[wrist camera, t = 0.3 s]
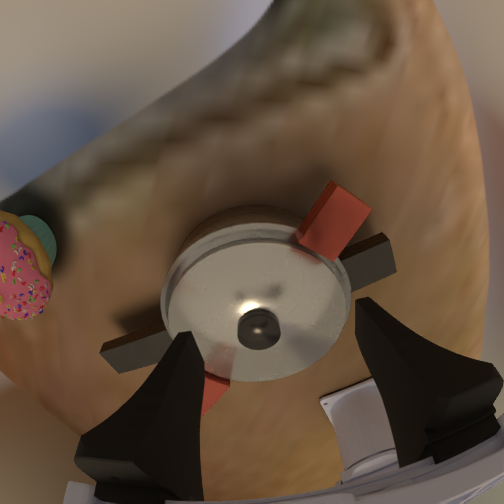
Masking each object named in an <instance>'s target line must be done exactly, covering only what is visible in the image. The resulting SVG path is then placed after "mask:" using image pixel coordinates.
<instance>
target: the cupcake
mask: <svg viewBox="0 0 504 504" xmlns="http://www.w3.org/2000/svg"><path fill="white" fill-rule="evenodd" d="M56 252H57V246H56V241H55V237H54V235H53V233H52V231H51V229H50V228H49V226H48V225H47V224H46V223H45V222H44V221H43V220H41V219H40V218H38V217H36V216H32V215H25V216H20V217H18V216H16V215H14V214H12V213H8V212H4V211H1V210H0V315H1V317H2V318H4V317H6V318H10V319H13V320H14V321H15V320H23V319H24V320H27V319H33V317H34V316H36V315H37V314H39V313H42V312H43V309H44V308H45V307H46V305H47V304H48V301H49V299H50V296H51V293H52V290H53V282H52V272H51V268H52V265H53V262H54V260H55V257H56ZM41 311H42V312H41ZM3 316H4V317H3Z"/></svg>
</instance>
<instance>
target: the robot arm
mask: <svg viewBox="0 0 504 504" xmlns="http://www.w3.org/2000/svg"><path fill="white" fill-rule="evenodd" d="M355 335H356V338H357V341H358V345H359V348H360V351H361V353H362V356H363V358H364V360H365V362H366V364H367V366H368V369H369V371H370V373H371V375H372V377H373V378H371V379H369V380H366V381H364V382H362V383H359V384H357V385H354V386H352V387H349V388H346V389H344V390H341V391H338V392H336V393H333V394H330V395H328V396H325V397H322V398H321V399H320V404H321V405H322V407H323V409H324V411H325V412H326V414H327V416H328V418H329V419H330V421H331V423H332V425H333V426H334V430H335V434H336V438H337V442H338V446H339V450H340V454H341V459H342V463H343V467H344V471H343V472H341V473H340V474H341V478H342V480H340V481H338V482H337V483H336V485H335V487H332V488H327V489H322V490H317V491H312V492H306V493H300V494H294V495H287V496H280V497H272V498H262V499H251V500H237V501H204V495H203V487H202V477H201V463H200V420H201V411H202V403H203V394H204V386H205V362H204V359H203V357H202V355H201V353H200V350H199V348H198V346H197V343H196V341H195V339H194V336H193V334H192V331H185V332H178V334H177V335H176V337H175V338H174V340H173V341H172V343H171V344H170V346H169V347H168V349H167V351H166V352H165V354H164V355H163V357H162V358H161V360H160V361H159V363H158V364H157V366H156V367H155V369H154V370H153V371H152V373H151V374H150V375H149V377H148V378H147V379H146V381H145V382H144V383H143V385H142V386H141V387H140V388H139V389H138V390H137V391H136V392H135V394H134V395H133V396H132V397H131V398H130V399H129V400H128V401H127V402H126V403H125V404H123V405H122V406H121V407H120V408H119V409H118V410H117V411H116V412H115V413H113V414H112V415H111V416H110V417H109V418H107V419H106V420H105V421H103V422H102V423H100V424H99V425H98V426H96V427H94V428H93V429H91V430H90V431H88V432H87V433H85V434H83V435H81V438H80V441H79V444H78V447H77V451H76V454H75V457H74V462H75V464H76V465H77V467H78V468H79V469H81V470H82V471H83V472H84V473H86V474H87V475H88V476H90V477H91V478H92V479H94V480H95V481H97V484H96V487H93V486H91V485H87V484H83V483H78V482H74V481H69V482H68V486H67V490H66V494H65V498H64V502H63V504H466V503H468V502H469V501H471V500H473V499H475V498H476V497H478V496H480V495H481V494H483V493H485V492H486V491H488V490H490V489H491V488H493V487H494V486H496V485H497V484H499V483H501V482H502V481H504V414H502V415H501V416H500V417H499V418H498V419H496V417H495V415H494V413H495V412H496V409H495V407H494V406H493V403H494V401H495V400H496V398H497V397H498V395H499V393H500V391H501V389H502V387H503V381H504V380H503V379H502V377H501V375H500V374H499V372H498V371H497V369H496V368H495V367H494V366H493V364H492V363H488V362H484V361H479V360H475V359H472V358H468V357H465V356H462V355H459V354H457V353H454V352H452V351H449V350H447V349H445V348H442V347H440V346H438V345H436V344H434V343H432V342H430V341H429V340H427V339H425V338H423V337H421V336H420V335H418V334H416V333H415V332H413V331H412V330H410V329H409V328H408V327H406V326H405V325H403V324H402V323H401V322H399V321H398V320H397V319H395V318H394V317H393V316H392V315H390V314H389V313H388V312H387V311H385V310H384V309H383V308H382V307H380V306H379V305H378V304H377V303H376V302H374V301H373V300H372V299H371V298H369V297H365V298H361V299H357V300H355Z"/></svg>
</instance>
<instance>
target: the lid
mask: <svg viewBox="0 0 504 504" xmlns="http://www.w3.org/2000/svg"><path fill="white" fill-rule="evenodd" d="M371 210H372V209H371V208H370V207H369V206H368V205H367V204H365V203H364V202H363V201H362V200H360V199H359V198H357V197H356V196H354V195H353V194H352V193H350V192H349V191H347V190H346V189H344V188H343V187H341V186H340V185H338V184H337V183H335V182H334V181H332V180H331V181H330V182H329V184H328V185H327V187H326V188H325V190H324V191H323V193H322V194H321V196H320V197H319V199H318V200H317V202H316V203H315V205H314V206H313V207H312V209H311V210H310V212H309V213H308V215H307V216H306V218H305V219H304V221H303V222H302V223H301V225H300V226H299V228H298V229H297V231H296V232H295V235H296V238H297V240H298V243H300V244H302V245H304V246H306V247H307V248H309V249H311V250H313V251H315V252H316V253H318V254H320V255H322V256H324V257H325V258H327V259H329V260H331V261H332V262H334V261H335V259H336V258H337V257H338V256H339V254H340V253H341V252H342V250H343V249H344V248H345V246H346V245H347V243H348V242H349V241H350V239H351V238H352V237H353V235H354V234H355V233H356V231H357V230H358V229H359V227H360V226H361V224H362V223H363V222H364V220H365V219H366V217H367V216H368V215H369V213H370V212H371ZM307 248H305V247H303V246H300V245H298V244H296V243H292V242H289V241H286V240H280V239H275V238H260V237H259V238H246V239H240V240H235V241H231V242H228V243H225V244H222V245H219V246H217V247H215V248H213V249H211V250H209V251H207V252H206V253H204V254H202V255H201V256H199V257H198V258H197V259H196V260H194V261H193V262H192V263H191V264H190V265H189V266H188V267H187V268H186V269H185V271H184V272H183V273H182V274H181V276H180V278H179V279H178V281H177V283H176V285H175V287H174V290H173V293H172V296H171V300H170V304H169V311H168V320H169V327H170V331H171V334H172V336H173V338H175V337H176V335H177V334H178V332H185V331H192V334H193V336H194V339H195V341H196V343H197V346H198V348H199V350H200V353H201V355H202V357H203V359H204V362H205V386H204V394H203V403H202V411H201V417H202V416H203V415H204V414H205V413H206V412H207V411H208V410H209V409H210V408H211V407H212V406H213V405H214V404H215V402H216V401H217V400H218V399H219V398H220V397H221V396H222V395H223V394H224V393H225V392H226V391H227V389H228V388H229V387H230V379H232V380H237V381H249V382H258V381H269V380H275V379H279V378H283V377H287V376H289V375H292V374H295V373H297V372H299V371H302V370H304V369H305V368H307V367H309V366H311V365H312V364H314V363H315V362H316V361H318V360H319V359H320V358H321V357H323V356H324V355H325V354H326V353H327V352H328V351H329V349H330V348H331V347H332V346H333V345H334V343H335V342H336V340H337V339H338V337H339V335H340V333H341V331H342V328H343V325H344V322H345V316H346V302H345V296H344V293H343V290H342V287H341V285H340V283H339V281H338V279H337V277H336V275H335V274H334V272H333V270H332V269H331V268H330V267H329V266H328V264H327V263H326V262H325V261H324V260H323V259H321V258H320V257H319V256H318V255H317V254H315V253H314V252H312V251H310V250H309V249H307Z"/></svg>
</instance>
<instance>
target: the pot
mask: <svg viewBox="0 0 504 504" xmlns="http://www.w3.org/2000/svg"><path fill="white" fill-rule="evenodd" d="M303 221H304V219H302V218H301V217H299V216H297V215H296V214H293V213H291V212H289V211H286V210H283V209H280V208H276V207H271V206H264V205H248V206H239V207H235V208H231V209H228V210H225V211H222V212H220V213H217V214H215V215H214V216H212V217H210V218H208V219H207V220H205V221H204V222H202V223H201V224H200V225H199V226H197V227H196V228H195V229H194V230H193V231H192V232H191V234H190V235H189V236H188V237H187V239H186V240H185V242H184V243H183V245H182V247H181V249H180V251H179V254H178V257H177V258H176V259H175V261H174V262H173V263H172V265H171V267H170V269H169V271H168V273H167V275H166V278H165V281H164V284H163V287H162V292H161V313H162V318H163V322H160V323H157V324H155V325H152V326H149V327H147V328H144V329H141V330H138V331H136V332H133V333H130V334H127V335H125V336H122V337H119V338H116V339H114V340H111V341H108V342H105V343H103V346H102V348H101V350H100V354H101V356H102V357H103V358H104V359H105V360H106V361H107V362H108V363H109V364H110V365H111V366H112V367H113V368H114V369H115V370H116V371H117V372H118V373H119V374H120V373H124V372H128V371H131V370H135V369H138V368H142V367H145V366H149V365H152V364H155V363H159V361H160V360H161V358H162V357H163V355H164V354H165V352H166V351H167V349H168V347H169V346H170V344H171V343H172V341H173V340H174V338H173V336H172V334H171V331H170V327H169V320H168V311H169V304H170V300H171V296H172V293H173V290H174V287H175V285H176V283H177V281H178V279H179V278H180V276H181V274H182V273H183V272H184V271H185V269H186V268H187V267H188V266H189V265H190V264H191V263H192V262H193V261H194V260H196V259H197V258H198V257H199V256H201V255H202V254H204V253H206V252H207V251H209V250H211V249H213V248H215V247H217V246H219V245H222V244H225V243H228V242H231V241H235V240H240V239H246V238H259V237H260V238H275V239H280V240H286V241H289V242H292V243H296V244H298V245H300V246H303V247H305V248H307V247H306V246H304V245H302V244H300V243H298V240H297V238H296V235H295V232H296V231H297V229H298V228H299V226H300V225H301V223H302V222H303ZM307 249H309V248H307ZM309 250H310V251H312V252H314V253H315V254H317V255H318V256H319V257H320V258H321V259H323V260H324V261H325V262H326V263H327V264H328V266H329V267H330V268H331V269H332V270H333V272H334V274H335V275H336V277H337V279H338V281H339V283H340V285H341V287H342V290H343V293H344V296H345V302H346V316H345V322H344V325H345V323H346V320H347V318H348V315H349V311H350V307H351V292H353V291H355V290H358V289H360V288H362V287H365V286H367V285H369V284H371V283H374V282H376V281H378V280H380V279H382V278H385V277H387V276H389V275H391V274H393V273H396V272H397V271H396V267H395V262H394V257H393V252H392V248H391V243H390V240H389V239H388V238H387V236H386V235H385V234H384V233H383V232H381V233H379V234H377V235H374V236H372V237H370V238H367V239H365V240H363V241H361V242H358V243H356V244H354V245H351V246H349V247H347V248H344V249H343V250H342V252H341V253H340V254H339V256H338V257H337V258H336V259H335V261H334V262H332V261H331V260H329V259H327V258H325V257H324V256H322V255H320V254H318V253H316V252H315V251H313V250H311V249H309ZM344 325H343V327H344ZM342 329H343V328H342Z"/></svg>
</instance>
